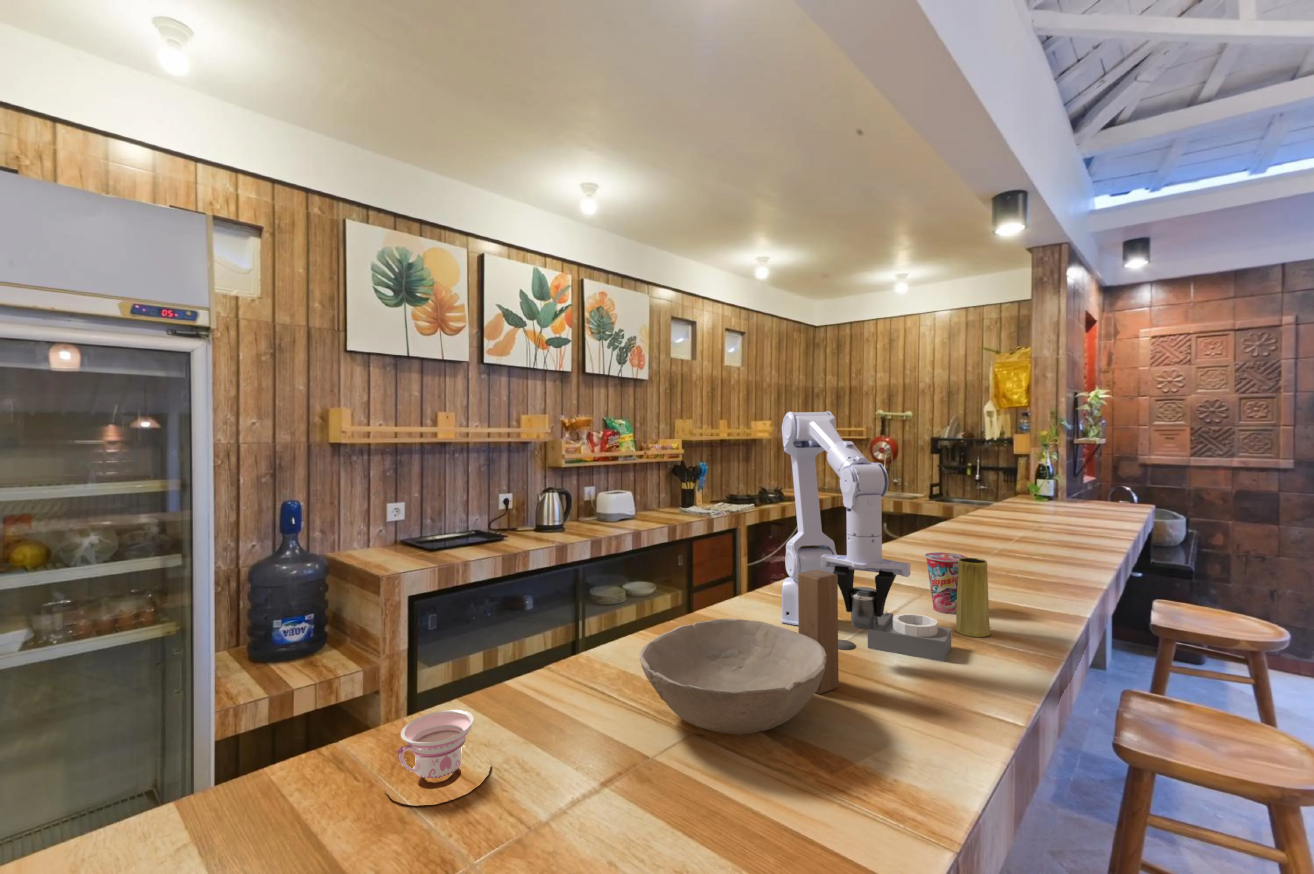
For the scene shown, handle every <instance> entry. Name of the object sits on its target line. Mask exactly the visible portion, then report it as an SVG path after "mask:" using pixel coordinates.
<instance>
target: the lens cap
mask: <svg viewBox="0 0 1314 874" xmlns="http://www.w3.org/2000/svg"><path fill="white" fill-rule="evenodd" d="M855 648H856V644H855V643H854V642H853V641H850V640H846V639H838V651H839V650H840V651H850V650H854V649H855Z"/></svg>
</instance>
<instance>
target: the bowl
mask: <svg viewBox="0 0 1314 874" xmlns="http://www.w3.org/2000/svg"><path fill="white" fill-rule="evenodd" d="M638 656H639V661H640V664H641V668H642V670H643V673H644V674H645V677H646V679H647V680H648V682H649V683H650V685H651V686H652V687H653V689H654V690H655V692H656V693H657V694H658V696H659V698H660V699H661V700H662V701H664V703H665V705H667V706H668V707H669V708H670V710H671V711H673V713H675V714H676V715H677V716H678V717H679V718H680V719H683V721H685V722H687V723H690V724H691V725H694V726H696V727H698V728H701V729H703V730H709V731H713V732H716V733H722V734H723V733H724V734H730V735H731V734H733V735H742V736H745V735H747V734H751V733H758V732H763V731H768V730H769V731H770V730H771V729H773V728H775V727H778V726H780V725H782V724H784V723H786V722H788V721H789V720H791V719H792V718H794V717H795V716H796V715H797V714H799V712H800V711H802V709H803V708H805V707H804V706H806V704H807V703H808V702H809V701H810V700H811V699H812V697H813V696H814V695H815V693H816V691H817V689H818V687H819V684H820V682H821V679H822V677H823V674H824V671H825V667H826V659H827V655H826V653H825V650H824V648H823V647H822V646H821V645H820V643H818V642H817V641H816V640H814V639H812V638H810V637H807V636H805V635H802V634H800V633H799V632H797V631H793V630H791V629H788V628H785V627H782V626H779V625H775V624H772V623H768V622H766V621H765V622H764V621H759V620H755V619H739V618H714V619H711V620H708V621H707V620H700V621H698V622H697V621H696V622H694V623H693V624H685V625H684V624H683V625H680V626H678V627H676V628H673V629H672V630H670V631H666V632H664V633H661V634H660V635H658V636H656V637H654V638H653V639H652V640H650V641H649V642H647V643H646V644H645V645H644V646H643V647H642V648H641V650H640V652H639V655H638Z"/></svg>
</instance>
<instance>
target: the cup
mask: <svg viewBox="0 0 1314 874" xmlns="http://www.w3.org/2000/svg"><path fill="white" fill-rule="evenodd" d="M924 556H925V558H926V563H927V572H928V579H929V580H928V581H929V588H930V594H931V600H932V607H933V610H934V611H935V612H938V613H942V614H950V615H953V614H956V612H957V586H958V559H959V558H970V557H968V556H966V555H963V554H960V553H958V554H957V553H951V552H929V553H925V554H924Z"/></svg>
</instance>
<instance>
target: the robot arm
mask: <svg viewBox="0 0 1314 874" xmlns="http://www.w3.org/2000/svg"><path fill="white" fill-rule="evenodd" d="M781 435H782V446H783V450H784V451H783V452H784V453H786V454H788V455H789V456H790V460H791V467H792V468H791V469H792V478H793V479H792V480H793V491H794V501H795V512H796V523H797V532H796V534H795V535H793V536H792V537H791V538H790V539H789V540H788V541H787V542H786V544H785V558H784V562H785V571H786V573H787V575H788V577H786V578H785V579H784V580H783V582H782V589H781V619H780V623H783V624H789V625H794V626H798V574H799V573H801V572H806V571H811V570H816V569H817V570H821V571H825V572H830V573H834V574H836V575H837V576H838V589H840V592H841V593H840V594H841V595H842V598H843V601H844V607H845V611H846V612H847V613H851V589H852V588H854V581H855V580H854V579H855V571H862V572H870V573H878V574H876V575H875V576H874V583H875V589H876V595H877V602H876V616H877V617H881V616H882V615H883V613H884V611H885V605H886V602H887V598H888V595H889V592H890V590H891V587H892V585H893V583H894V581H895V579H896V577H897V576H901V577H904V578H905V577H906V578H909V577H910V576H911V563H910V562H903V561H898V560H891V559H888V558H883V549H882V548H883V544H882V543H883V539H882V538H883V535H882V532H883V526H882V525H883V524H882V523H883V522H882V521H883V520H882V505H883V504H882V498H883V497H885V496H886V494H887V493H888V489H889V475H888V471H887V470H886V468H885V467H884V465H883V463H882V462H881V463H880V462H872V461H871V462H870V461H869V459H867V457H866V456H864V454H863V453H862V451H861V450H859V449H858V447H857V446H856V445H855V443H854V442H853V441H851V440H849V441H848V440H843V438H842V437H841V435H840V434H839V432H838V430H837V420H836V416H834V414H833V413H832V412H831V411H829V410H827V411H818V412H817V411H815V412H814V411H812V412H811V411H809V412H808V411H807V412H806V411H805V412H804V411H802V412H796V411H795V412H793V411H788V412H787V413H786V414H785V415H784V417H783V420H782V425H781ZM824 451H825V452H826V453H827V454H826V461H827V463H828V465H829V466H830V467H831V469H832V470H833V471H834V473H835V474H836V475H837V477H839V486H840V491H841V493H842V504H843V506H844V507H845V508H846V509H845V510H846V513H845V514H846V516H845V517H846V554H845V555H844V554H837V551H836V545H835V542H834V540H833V539H831V538H830V537H829V536H828V535H826V534H825V533H824V532H823V530H822V529H823V528H822V517H821V509H820V499H819V498H820V497H819V487H818V486H819V485H818V478H817V477H818V475H817V467H816V466H817V465H816V458H817V456H818V454H821V453H822V452H824ZM808 546H809V548H808ZM810 546H811V547H812V546H817V547H812V548H811V547H810ZM801 547H805V548H801ZM806 547H807V548H806Z"/></svg>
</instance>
